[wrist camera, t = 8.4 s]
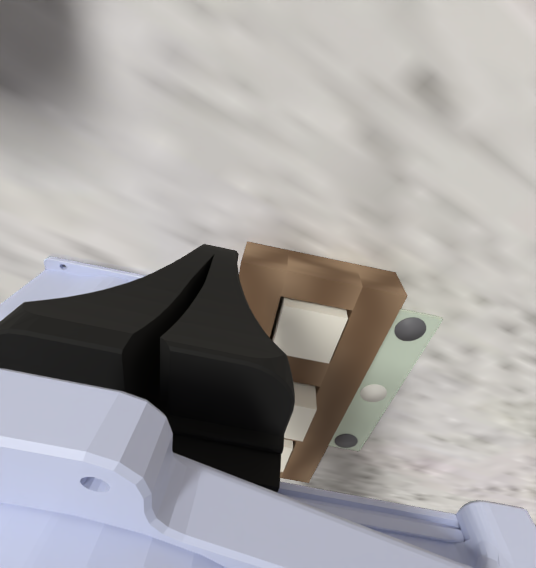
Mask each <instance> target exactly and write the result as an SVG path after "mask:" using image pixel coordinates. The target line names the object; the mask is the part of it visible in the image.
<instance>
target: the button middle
mask: <svg viewBox="0 0 536 568" xmlns="http://www.w3.org/2000/svg"><path fill="white" fill-rule="evenodd" d="M293 384H294V392H295V404H294V410H293V413H292V415H291V418H290V421H289V423H288V426H287V428H286V431H285V434H284V438H286V439H292V440H297V441H302V442H303V440H304V437H305V435H306V433H307V431H308V428H309V426H310V424H311V422H312V419H313V417H314V415H315V413H316V410H317V405H316V389H315V386H313V385H308V384H303V383H297V382H293Z"/></svg>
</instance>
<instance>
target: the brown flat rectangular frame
mask: <svg viewBox="0 0 536 568" xmlns="http://www.w3.org/2000/svg"><path fill="white" fill-rule="evenodd" d="M239 278H240V282H241V286H242V289H243V292H244V295H245V298H246V300H247V302H248V305H249V307H250V309H251V311H252V313H253V314H254V316H255V318H256V319H257V321H258V322H259V324H260V325H261V327H262V328H263V330H264V331H265V333H266V334H267V335H268V336H269V338H270V339H271V340H272V336H273V325H274V320H275V316H276V312H277V308H278V305H279V301H280V297H281V296H282V297H287V298H292V299H297V300H302V301H307V302H312V303H317V304H322V305H327V306H332V307H337V308H342V309H346V311H347V316H348V320H347V322H346V324H345V327H344V329H343V332H342V334H341V336H340V339H339V341H338V343H337V346H336V348H335V350H334V353H333V355H332V357H331V360H330V362H329V364H328V363H323V362H318V361H313V360H308V359H303V358H298V357H292V356H287V357H288V361H289V365H290V369H291V373H292V378H293V382H297V383H303V384H308V385H313V386H315V389H316V405H317V410H316V413H315V415H314V417H313V419H312V422H311V424H310V426H309V428H308V431H307V433H306V435H305V437H304V440H303V442H302V441H297V440H292V439H286V438H284V439H286V440H292V441H293V449H292V452H291V454H290V456H289V459H288V461H287V464H286V466H285V468H284V471H283V472H280V478H284V479H290V480H296V481H301V482H307V483H309V481H310V479H311V477H312V475H313V474H314V472H315V470H316V468H317V466H318V464H319V462H320V460H321V458H322V457H323V455H324V453H325V451H326V449H327V447H328V445H329V443H330V441H331V440H332V438H333V436H334V434H335V432H336V430H337V428H338V426H339V424H340V423H341V421H342V419H343V417H344V415H345V413H346V411H347V409H348V407H349V406H350V404H351V402H352V400H353V398H354V396H355V394H356V392H357V390H358V388H359V387H360V385H361V383H362V381H363V379H364V377H365V375H366V373H367V371H368V370H369V368H370V366H371V364H372V362H373V360H374V358H375V356H376V354H377V353H378V351H379V349H380V347H381V345H382V343H383V341H384V339H385V337H386V336H387V334H388V332H389V330H390V328H391V326H392V324H393V322H394V320H395V319H396V317H397V315H398V313H399V311H400V309H401V307H402V305H403V303H404V302H405V300H406V298H407V294H406V292H405V290H404V288H403V286H402V284H401V282H400V280H399V278H398V276H397V274H396V272H391V271H386V270H381V269H376V268H372V267H367V266H362V265H357V264H352V263H348V262H343V261H338V260H333V259H328V258H324V257H319V256H314V255H309V254H304V253H300V252H295V251H290V250H285V249H280V248H276V247H271V246H266V245H261V244H256V243H252V242H247V244H246V248H245V251H244V254H243V257H242V261H241V266H240V272H239Z"/></svg>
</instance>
